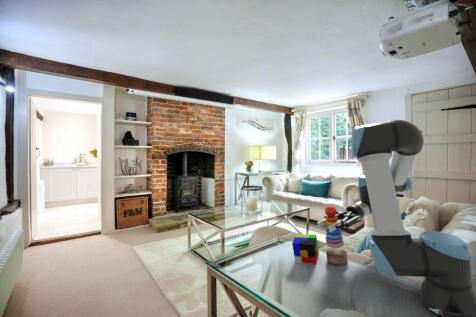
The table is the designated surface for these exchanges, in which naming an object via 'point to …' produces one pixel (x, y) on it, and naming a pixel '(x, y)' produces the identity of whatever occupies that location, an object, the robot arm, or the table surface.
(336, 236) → the stacking toy
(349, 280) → the table surface
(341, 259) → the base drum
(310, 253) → the puzzle toy
